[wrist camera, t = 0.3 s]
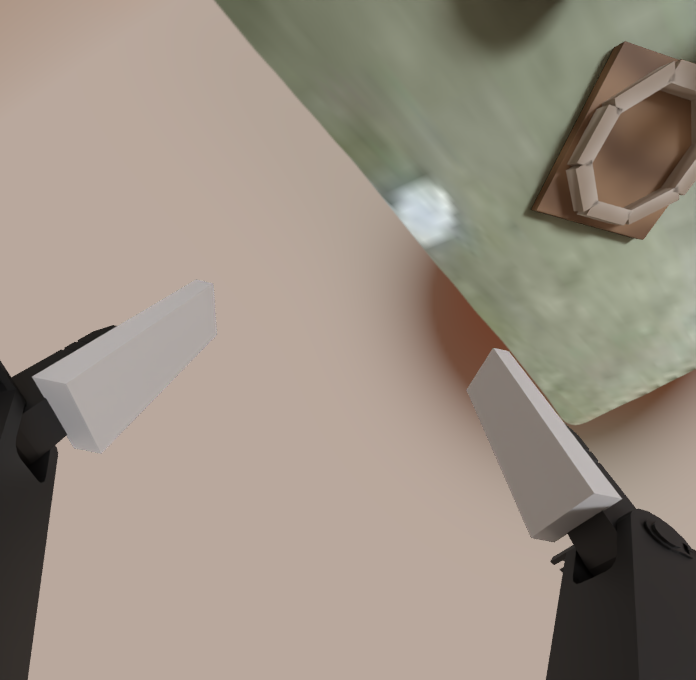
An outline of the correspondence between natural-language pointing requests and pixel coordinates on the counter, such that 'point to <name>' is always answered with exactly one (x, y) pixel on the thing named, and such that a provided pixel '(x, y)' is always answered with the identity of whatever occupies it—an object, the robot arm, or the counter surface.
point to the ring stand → (628, 145)
